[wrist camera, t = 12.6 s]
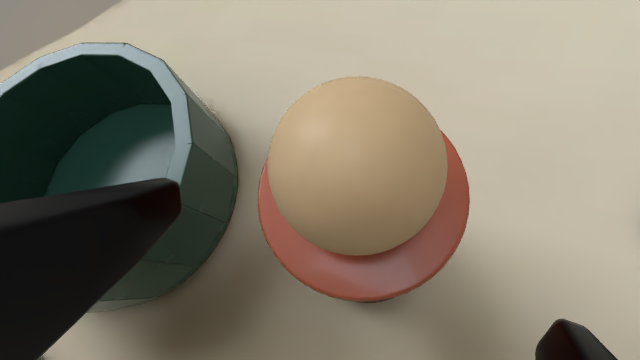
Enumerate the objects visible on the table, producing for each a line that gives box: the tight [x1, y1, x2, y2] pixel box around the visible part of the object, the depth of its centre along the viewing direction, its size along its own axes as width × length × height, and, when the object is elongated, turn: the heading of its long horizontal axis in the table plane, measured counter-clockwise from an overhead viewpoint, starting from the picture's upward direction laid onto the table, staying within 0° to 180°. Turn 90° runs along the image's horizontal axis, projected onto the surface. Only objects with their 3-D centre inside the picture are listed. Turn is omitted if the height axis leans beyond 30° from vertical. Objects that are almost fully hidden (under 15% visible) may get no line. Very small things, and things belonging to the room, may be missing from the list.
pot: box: [0, 43, 238, 313], centre depth 16 cm, size 13×13×5 cm
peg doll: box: [258, 77, 470, 303], centre depth 10 cm, size 6×6×12 cm
